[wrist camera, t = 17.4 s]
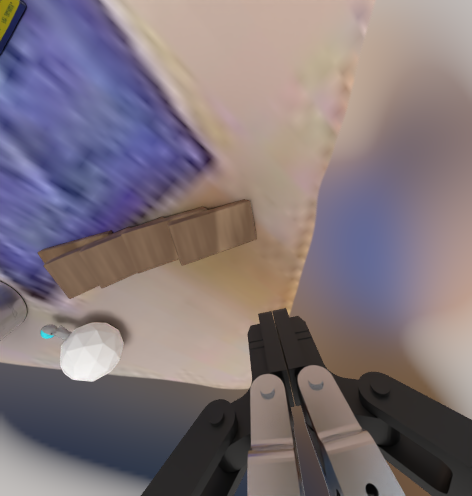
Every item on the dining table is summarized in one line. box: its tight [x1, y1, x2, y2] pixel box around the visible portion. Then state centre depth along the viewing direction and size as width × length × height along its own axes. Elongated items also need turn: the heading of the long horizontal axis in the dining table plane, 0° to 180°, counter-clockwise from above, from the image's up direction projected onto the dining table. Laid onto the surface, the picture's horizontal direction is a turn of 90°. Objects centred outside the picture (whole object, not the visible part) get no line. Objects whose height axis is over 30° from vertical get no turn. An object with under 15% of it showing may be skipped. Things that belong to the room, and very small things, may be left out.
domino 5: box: [167, 199, 257, 266], centre depth 28 cm, size 2×5×10 cm
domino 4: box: [121, 207, 207, 273], centre depth 29 cm, size 2×5×10 cm
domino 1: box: [38, 230, 113, 263], centre depth 32 cm, size 2×5×10 cm
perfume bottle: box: [41, 322, 124, 382], centre depth 34 cm, size 8×8×12 cm
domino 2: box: [43, 227, 130, 299], centre depth 30 cm, size 2×5×10 cm
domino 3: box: [79, 217, 163, 288], centre depth 29 cm, size 2×5×10 cm
